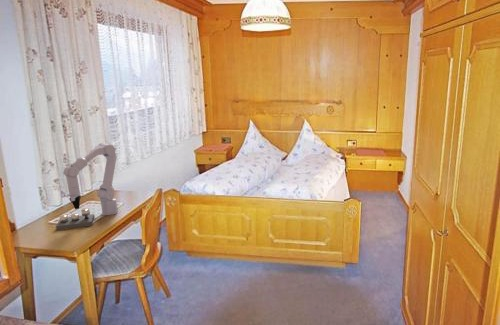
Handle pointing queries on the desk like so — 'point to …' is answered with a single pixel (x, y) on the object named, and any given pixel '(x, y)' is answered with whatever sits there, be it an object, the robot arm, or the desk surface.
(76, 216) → the knob mid
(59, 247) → the desk surface
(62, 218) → the knob
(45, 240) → the desk surface
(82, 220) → the knob panel
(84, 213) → the knob
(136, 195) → the desk surface
